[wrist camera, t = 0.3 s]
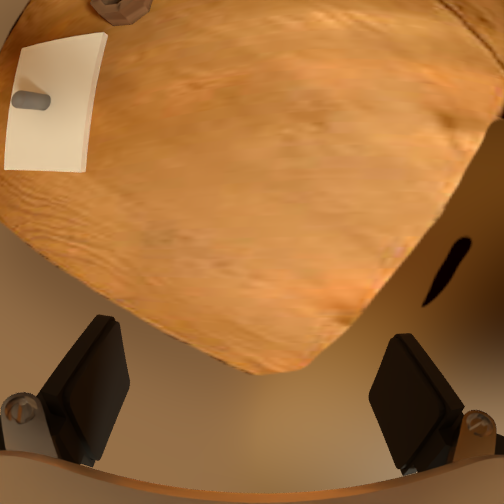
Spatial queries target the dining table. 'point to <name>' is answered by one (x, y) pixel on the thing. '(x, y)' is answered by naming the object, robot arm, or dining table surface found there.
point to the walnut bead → (121, 10)
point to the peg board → (53, 104)
